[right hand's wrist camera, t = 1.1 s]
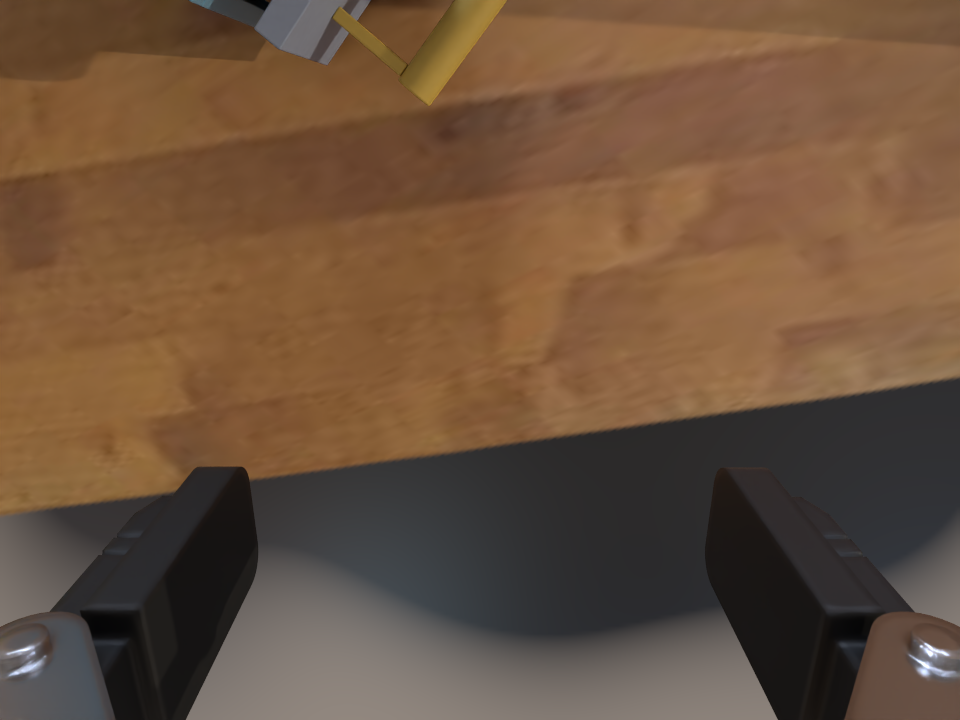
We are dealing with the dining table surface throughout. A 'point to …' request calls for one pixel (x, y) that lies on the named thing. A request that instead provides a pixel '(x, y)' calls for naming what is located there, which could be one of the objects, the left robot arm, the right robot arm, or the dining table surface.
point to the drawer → (333, 15)
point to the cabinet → (237, 9)
